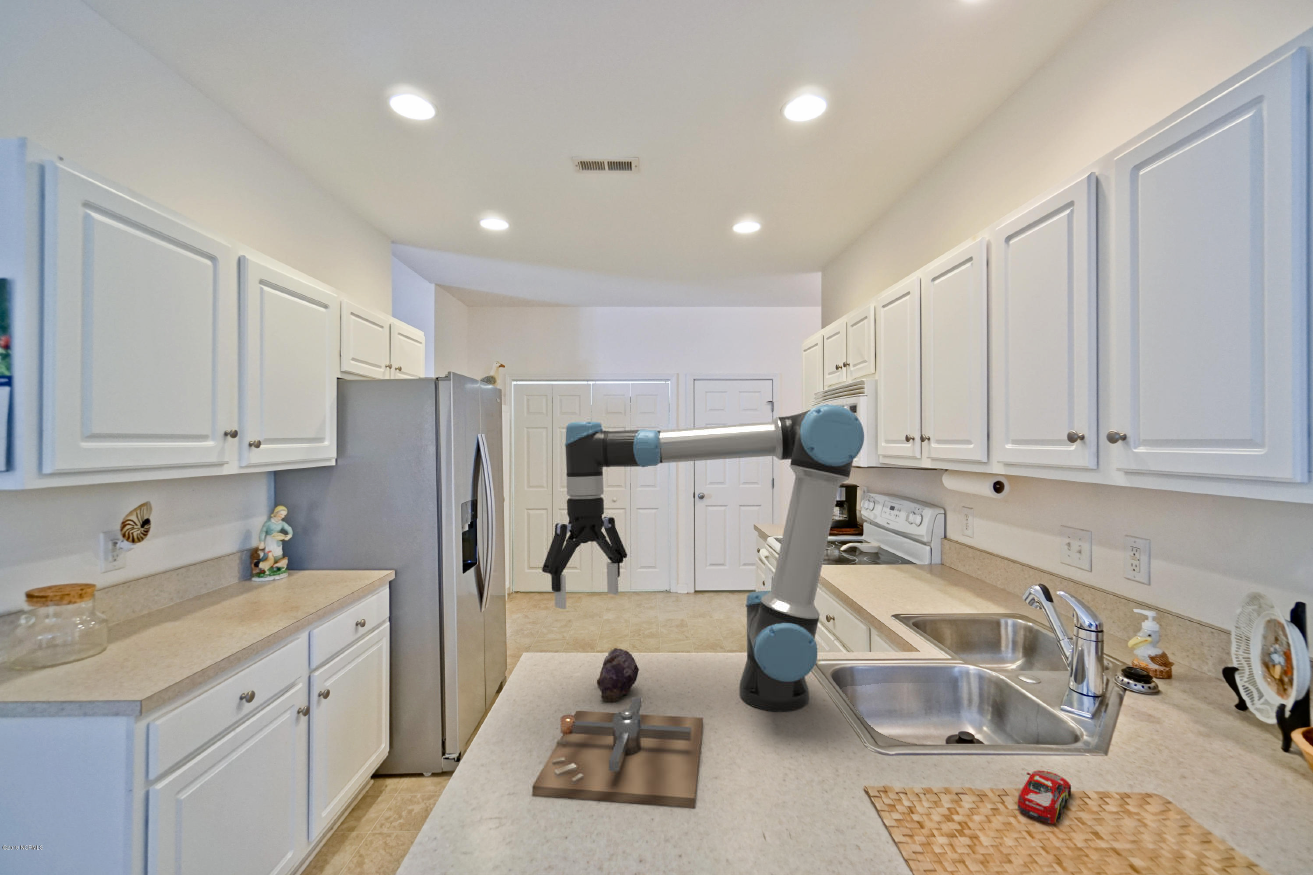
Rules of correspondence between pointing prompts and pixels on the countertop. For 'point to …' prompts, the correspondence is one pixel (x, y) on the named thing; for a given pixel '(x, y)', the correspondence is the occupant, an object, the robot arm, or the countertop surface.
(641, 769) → the board
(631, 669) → the rock
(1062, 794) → the race car
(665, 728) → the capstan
